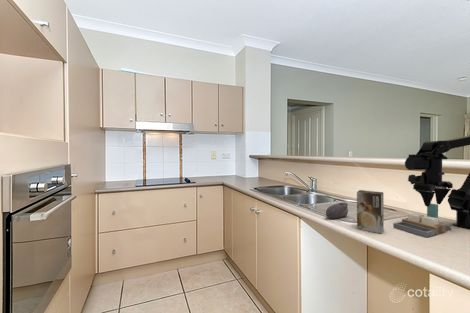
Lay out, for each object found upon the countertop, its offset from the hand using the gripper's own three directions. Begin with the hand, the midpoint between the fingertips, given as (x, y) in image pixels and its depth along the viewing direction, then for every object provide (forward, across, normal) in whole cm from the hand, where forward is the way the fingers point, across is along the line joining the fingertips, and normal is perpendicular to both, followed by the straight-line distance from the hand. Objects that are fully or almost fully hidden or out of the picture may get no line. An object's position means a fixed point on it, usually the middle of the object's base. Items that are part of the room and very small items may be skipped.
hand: (432, 205), depth 95 cm
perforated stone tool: (+10, +27, -27) cm, 40 cm away
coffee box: (+9, +28, -9) cm, 31 cm away
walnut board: (+9, +7, 0) cm, 12 cm away
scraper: (+10, 0, 0) cm, 10 cm away
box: (+9, +14, 0) cm, 17 cm away
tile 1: (+6, +8, -3) cm, 10 cm away
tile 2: (+6, +8, +2) cm, 10 cm away
